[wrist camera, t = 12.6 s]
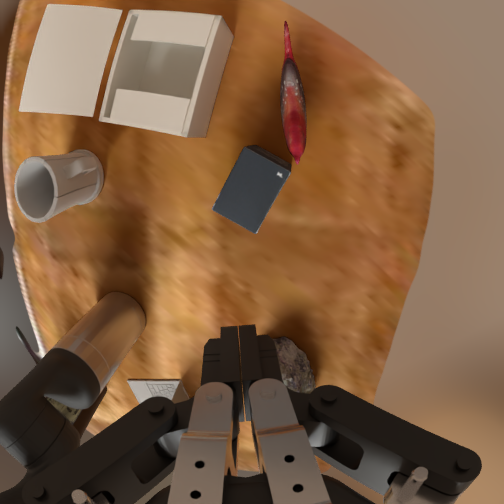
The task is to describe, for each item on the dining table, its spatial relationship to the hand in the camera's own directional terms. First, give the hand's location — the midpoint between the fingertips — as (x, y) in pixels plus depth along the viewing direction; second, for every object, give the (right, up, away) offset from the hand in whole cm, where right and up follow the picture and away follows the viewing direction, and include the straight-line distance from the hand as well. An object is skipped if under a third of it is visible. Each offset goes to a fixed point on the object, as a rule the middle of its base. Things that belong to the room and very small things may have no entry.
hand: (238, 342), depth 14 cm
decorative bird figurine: (+6, +24, +25) cm, 36 cm away
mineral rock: (+6, -15, +39) cm, 43 cm away
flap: (-16, +26, +17) cm, 35 cm away
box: (+2, +14, +29) cm, 33 cm away
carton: (-10, +28, +25) cm, 39 cm away
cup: (-26, +17, +32) cm, 44 cm away
